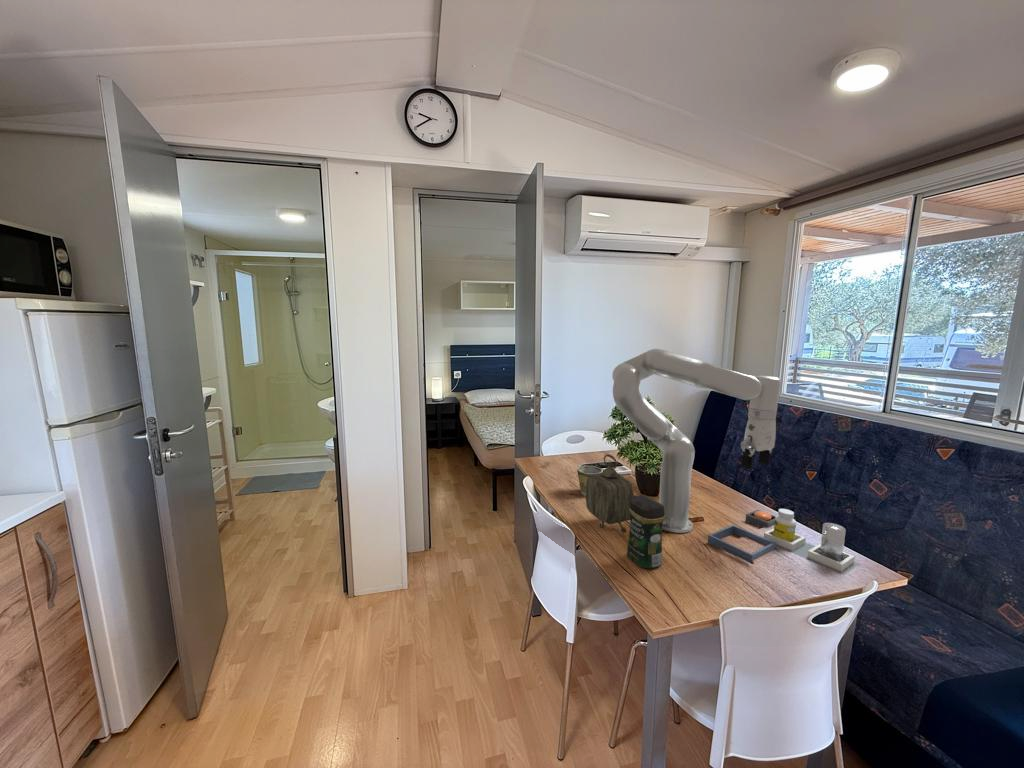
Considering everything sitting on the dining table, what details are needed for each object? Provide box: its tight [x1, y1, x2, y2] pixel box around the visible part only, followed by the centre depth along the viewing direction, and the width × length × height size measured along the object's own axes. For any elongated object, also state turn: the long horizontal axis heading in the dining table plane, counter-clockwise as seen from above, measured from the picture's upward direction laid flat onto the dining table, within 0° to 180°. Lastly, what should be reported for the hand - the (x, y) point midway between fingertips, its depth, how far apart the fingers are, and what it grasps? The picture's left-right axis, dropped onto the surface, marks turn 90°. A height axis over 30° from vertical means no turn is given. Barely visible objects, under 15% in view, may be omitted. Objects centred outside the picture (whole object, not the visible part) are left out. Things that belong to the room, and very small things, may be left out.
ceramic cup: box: [576, 465, 604, 497], centre depth 162 cm, size 13×10×10 cm
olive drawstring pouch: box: [585, 454, 634, 534], centre depth 132 cm, size 14×9×25 cm, turn 23°
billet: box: [820, 522, 847, 562], centre depth 113 cm, size 5×5×10 cm
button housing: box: [744, 509, 777, 529], centre depth 137 cm, size 7×7×2 cm
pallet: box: [761, 527, 860, 575], centre depth 118 cm, size 10×22×3 cm, turn 31°
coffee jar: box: [626, 494, 665, 570], centre depth 113 cm, size 10×8×19 cm
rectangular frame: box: [707, 524, 777, 564], centre depth 122 cm, size 13×13×2 cm
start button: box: [754, 510, 772, 522], centre depth 137 cm, size 5×5×2 cm
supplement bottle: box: [773, 508, 797, 542], centre depth 123 cm, size 5×5×10 cm
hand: (755, 465), depth 129 cm, fingers open, 9 cm apart
